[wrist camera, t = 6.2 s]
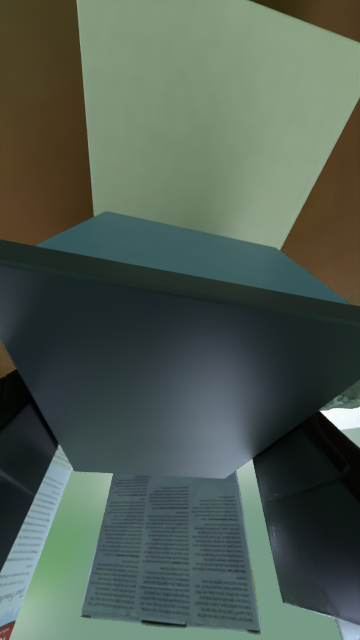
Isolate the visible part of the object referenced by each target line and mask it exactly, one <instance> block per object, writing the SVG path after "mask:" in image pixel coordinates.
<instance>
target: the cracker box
mask: <svg viewBox="0 0 360 640" xmlns="http://www.w3.org/2000/svg"><path fill="white" fill-rule="evenodd" d="M71 470H72V466H71V464H70V462H69V461H68V459H67V457H66V455H65V454H64V452H63V450H62V448H61V447H60V445H59V446H58V448H57V451H56V453H55V455H54V457H53V459H52V461H51V464H50V466H49V468H48V470H47V472H46V475H45V477H44V479H43V481H42V483H41V485H40V488H39V490H38V492H37V494H36V496H35V497H34V501H33V503H32V505H31V507H30V510H29V512H28V514H27V516H26V518H25V520H24V523H23V525H22V527H21V529H20V531H19V533H18V536H17V538H16V540H15V542H14V544H13V546H12V549H11V551H10V553H9V555H8V557H7V560H6V562H5V564H4V566H3V568H2V570H1V573H0V640H9V638H10V635H11V632H12V630H13V627H14V624H15V621H16V619H17V616H18V613H19V611H20V608H21V605H22V602H23V600H24V597H25V595H26V592H27V589H28V586H29V583H30V581H31V578H32V576H33V572H34V570H35V567H36V565H37V562H38V559H39V557H40V554H41V551H42V548H43V546H44V543H45V541H46V538H47V535H48V532H49V530H50V527H51V524H52V522H53V519H54V516H55V513H56V511H57V508H58V505H59V502H60V500H61V497H62V495H63V492H64V489H65V487H66V484H67V481H68V479H69V476H70V473H71Z"/></svg>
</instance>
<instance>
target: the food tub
mask: <svg viewBox="0 0 360 640" xmlns="http://www.w3.org/2000/svg"><path fill="white" fill-rule="evenodd" d="M0 340H1V342H2V344H3V345H4V347H5V349H6V351H7V352H8V354H9V356H10V358H11V360H12V361H13V363H14V365H15V367H16V368H17V370H18V372H19V374H20V376H21V377H22V379H23V381H24V383H25V384H26V386H27V388H28V390H29V392H30V393H31V395H32V397H33V399H34V400H35V402H36V404H37V406H38V407H39V409H40V411H41V413H42V415H43V416H44V418H45V420H46V422H47V423H48V425H49V427H50V429H51V431H52V432H53V434H54V436H55V438H56V439H57V441H58V443H59V445H60V447H61V448H62V450H63V452H64V454H65V455H66V457H67V459H68V461H69V462H70V464H71V466H72V468H73V470H74V471H80V472H101V473H120V474H140V475H160V476H180V477H199V478H219V479H225V478H226V477H228V476H229V475H230V474H232V473H233V472H235V471H236V470H237V469H239V468H240V467H241V466H243V465H244V464H246V463H247V462H248V461H250V460H251V459H252V458H254V457H255V456H257V455H258V454H259V453H261V452H262V451H263V450H265V449H266V448H267V447H269V446H270V445H272V444H273V443H274V442H276V441H277V440H278V439H280V438H281V437H283V436H284V435H285V434H287V433H288V432H289V431H291V430H292V429H293V428H295V427H296V426H298V425H299V424H300V423H302V422H303V421H304V420H306V419H307V418H309V417H310V416H311V415H313V414H314V413H315V412H317V411H318V410H319V409H321V408H322V407H324V406H325V405H326V404H328V403H329V402H330V401H332V400H333V399H335V398H336V397H337V396H339V395H340V394H341V393H343V392H344V391H346V390H347V389H348V388H350V387H351V386H352V385H354V384H355V383H356V382H358V381H359V380H360V306H355V305H351V304H350V303H348V302H347V301H346V300H344V299H343V298H342V297H340V296H339V295H338V294H336V293H335V292H334V291H333V290H331V289H330V288H329V287H327V286H326V285H325V284H323V283H322V282H321V281H319V280H318V279H317V278H315V277H314V276H313V275H311V274H310V273H309V272H307V271H306V270H305V269H303V268H302V267H301V266H299V265H298V264H297V263H295V262H294V261H293V260H292V259H290V258H289V257H288V256H286V255H285V254H284V253H282V252H281V251H280V250H278V249H277V248H275V247H271V246H266V245H262V244H257V243H252V242H248V241H243V240H238V239H234V238H229V237H225V236H220V235H215V234H211V233H206V232H201V231H197V230H192V229H188V228H183V227H178V226H174V225H169V224H165V223H160V222H155V221H151V220H146V219H141V218H137V217H132V216H128V215H123V214H118V213H114V212H109V211H105V212H103V213H101V214H99V215H97V216H95V217H92V218H90V219H88V220H86V221H84V222H82V223H80V224H78V225H76V226H74V227H72V228H70V229H68V230H66V231H64V232H62V233H60V234H57V235H55V236H53V237H51V238H49V239H47V240H45V241H43V242H41V243H39V244H37V245H35V246H32V245H26V244H21V243H16V242H10V241H5V240H0Z"/></svg>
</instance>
